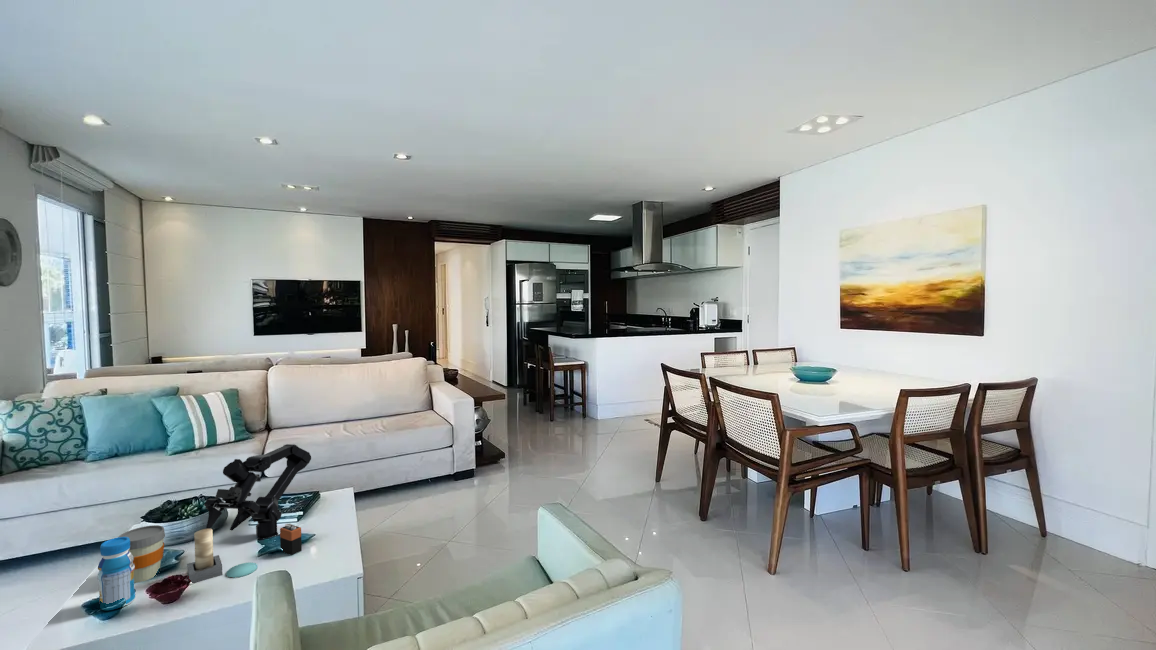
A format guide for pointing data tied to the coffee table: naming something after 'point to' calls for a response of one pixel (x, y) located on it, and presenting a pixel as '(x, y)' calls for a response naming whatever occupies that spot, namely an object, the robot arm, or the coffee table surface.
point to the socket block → (204, 571)
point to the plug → (203, 548)
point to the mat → (242, 570)
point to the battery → (290, 539)
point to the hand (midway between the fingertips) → (219, 529)
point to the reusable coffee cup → (146, 550)
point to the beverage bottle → (116, 571)
